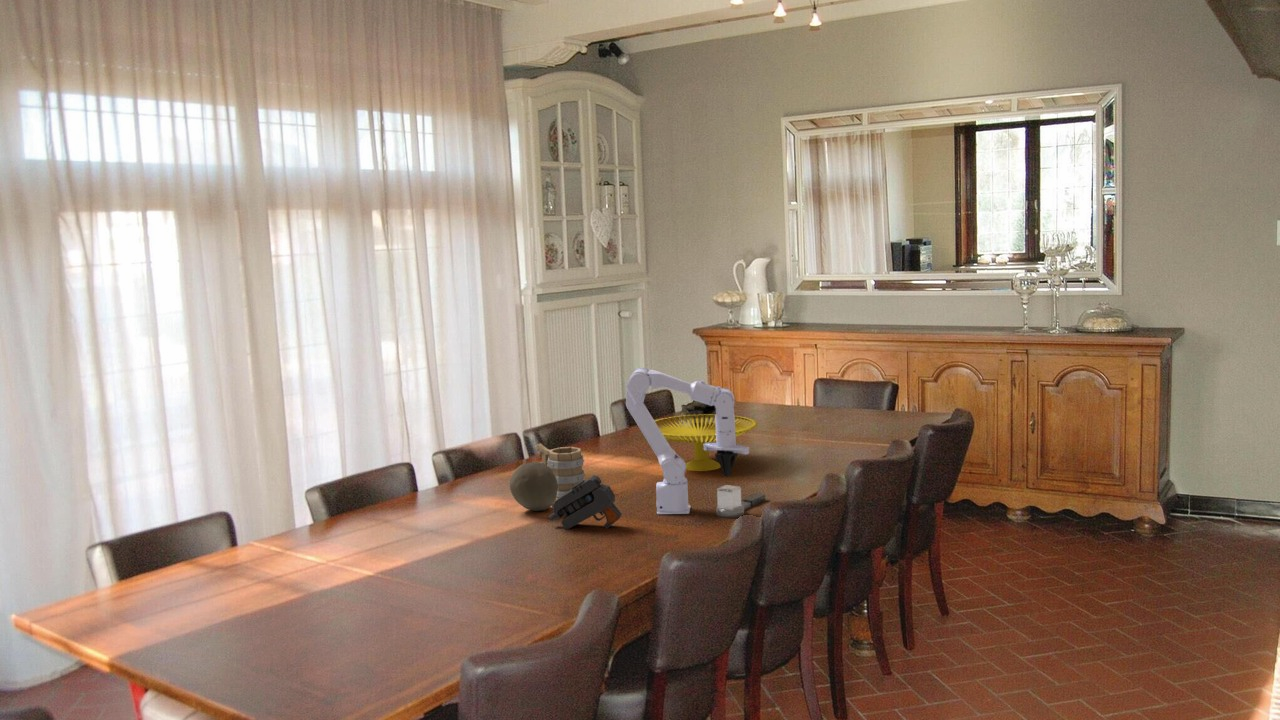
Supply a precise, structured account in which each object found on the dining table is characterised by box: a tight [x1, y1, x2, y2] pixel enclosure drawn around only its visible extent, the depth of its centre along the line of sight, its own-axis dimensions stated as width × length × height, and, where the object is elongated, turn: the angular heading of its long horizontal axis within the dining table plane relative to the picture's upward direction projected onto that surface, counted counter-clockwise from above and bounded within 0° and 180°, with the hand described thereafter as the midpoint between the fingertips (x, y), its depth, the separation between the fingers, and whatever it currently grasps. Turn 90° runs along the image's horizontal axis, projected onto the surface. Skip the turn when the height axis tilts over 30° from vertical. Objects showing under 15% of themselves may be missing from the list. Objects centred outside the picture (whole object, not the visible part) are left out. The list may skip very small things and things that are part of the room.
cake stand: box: [654, 414, 759, 472], centre depth 361 cm, size 40×40×15 cm
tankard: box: [534, 442, 586, 499], centre depth 336 cm, size 20×13×15 cm, turn 47°
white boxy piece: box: [716, 484, 742, 511], centre depth 300 cm, size 5×5×6 cm
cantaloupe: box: [509, 461, 558, 512], centre depth 312 cm, size 14×14×15 cm
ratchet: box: [715, 492, 766, 519], centre depth 306 cm, size 22×8×5 cm, turn 144°
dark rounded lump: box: [676, 400, 716, 428], centre depth 425 cm, size 28×13×15 cm
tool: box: [548, 474, 623, 530], centre depth 294 cm, size 6×19×15 cm, turn 78°
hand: (727, 476), depth 303 cm, fingers closed
